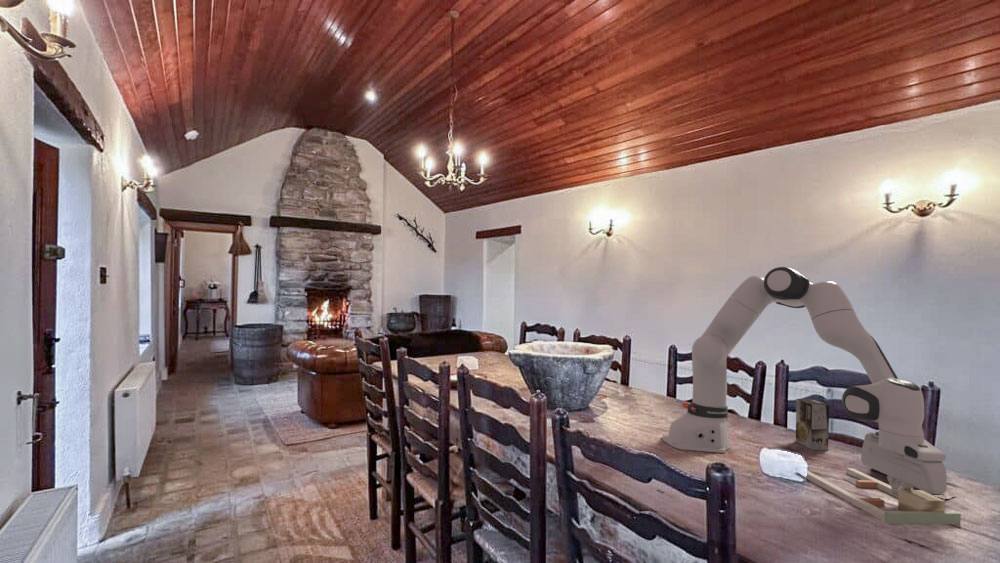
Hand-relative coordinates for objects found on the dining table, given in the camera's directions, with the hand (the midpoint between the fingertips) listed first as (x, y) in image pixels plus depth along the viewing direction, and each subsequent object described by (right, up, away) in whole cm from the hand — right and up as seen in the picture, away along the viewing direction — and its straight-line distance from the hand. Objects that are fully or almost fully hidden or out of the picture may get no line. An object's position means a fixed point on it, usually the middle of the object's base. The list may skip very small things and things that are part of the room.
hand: (899, 496), depth 118 cm
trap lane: (-4, -2, +6) cm, 7 cm away
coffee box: (+9, -4, +47) cm, 48 cm away
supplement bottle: (+16, -4, +23) cm, 29 cm away
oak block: (+1, -2, -5) cm, 6 cm away
